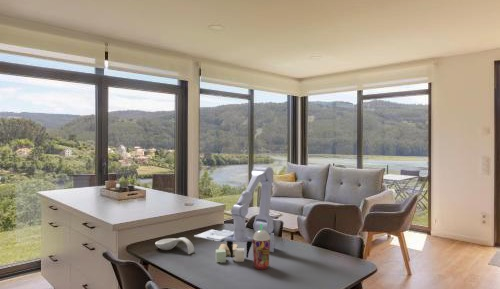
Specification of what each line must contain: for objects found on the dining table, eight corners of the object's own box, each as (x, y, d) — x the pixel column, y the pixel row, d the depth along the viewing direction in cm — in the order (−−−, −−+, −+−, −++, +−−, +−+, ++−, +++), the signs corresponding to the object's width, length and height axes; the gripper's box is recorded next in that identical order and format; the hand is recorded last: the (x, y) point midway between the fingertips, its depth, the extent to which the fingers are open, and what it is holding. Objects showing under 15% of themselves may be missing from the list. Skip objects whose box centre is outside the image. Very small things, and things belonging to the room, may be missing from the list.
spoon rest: (150, 249, 183) (150, 236, 183) (166, 243, 194) (165, 231, 194) (184, 257, 172) (184, 242, 172) (199, 250, 182) (199, 237, 182)
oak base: (237, 249, 182) (237, 244, 182) (235, 255, 173) (235, 249, 173) (221, 249, 183) (221, 243, 183) (218, 255, 174) (218, 249, 174)
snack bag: (220, 242, 196) (220, 239, 196) (192, 237, 207) (192, 234, 207) (238, 234, 212) (238, 231, 212) (212, 230, 223) (212, 227, 223)
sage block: (224, 258, 169) (224, 248, 168) (225, 262, 164) (225, 251, 164) (215, 259, 168) (215, 249, 168) (216, 262, 163) (216, 252, 163)
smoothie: (264, 272, 152) (264, 227, 151) (248, 268, 156) (248, 224, 156) (273, 266, 159) (273, 223, 158) (258, 262, 163) (258, 220, 163)
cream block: (244, 258, 169) (244, 248, 169) (243, 261, 165) (243, 251, 165) (235, 258, 170) (235, 248, 170) (234, 261, 165) (234, 251, 165)
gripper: (223, 230, 164) (223, 259, 164) (253, 231, 162) (253, 260, 163) (225, 227, 171) (225, 254, 171) (254, 227, 169) (254, 255, 170)
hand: (239, 256), depth 167 cm, fingers open, 7 cm apart
